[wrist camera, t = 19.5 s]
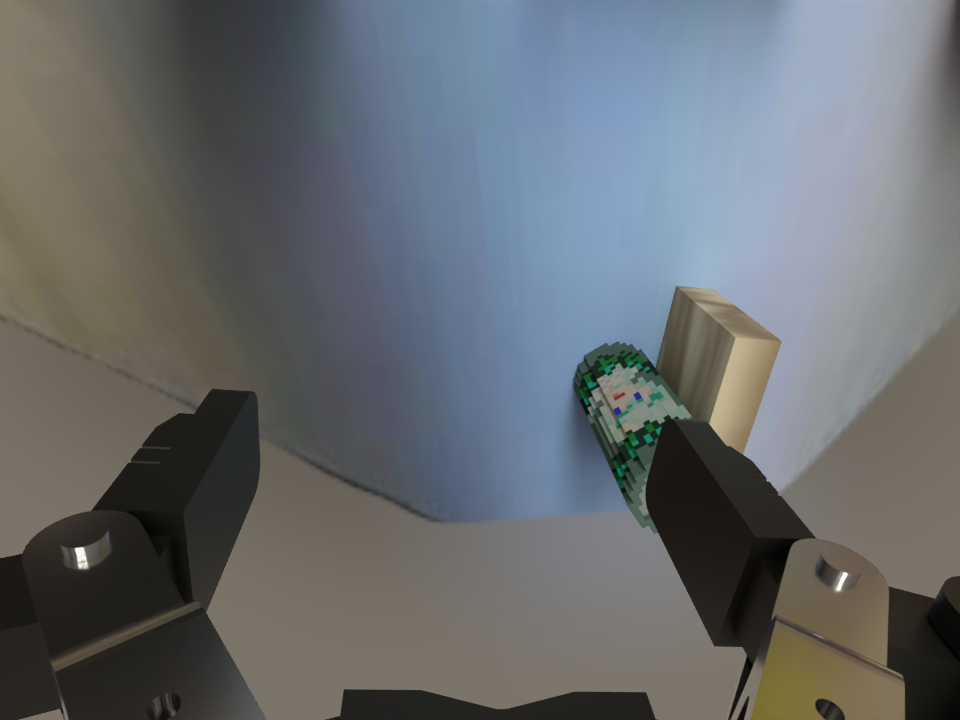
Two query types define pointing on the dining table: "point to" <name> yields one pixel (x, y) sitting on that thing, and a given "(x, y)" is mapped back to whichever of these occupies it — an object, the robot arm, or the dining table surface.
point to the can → (627, 415)
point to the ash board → (716, 362)
